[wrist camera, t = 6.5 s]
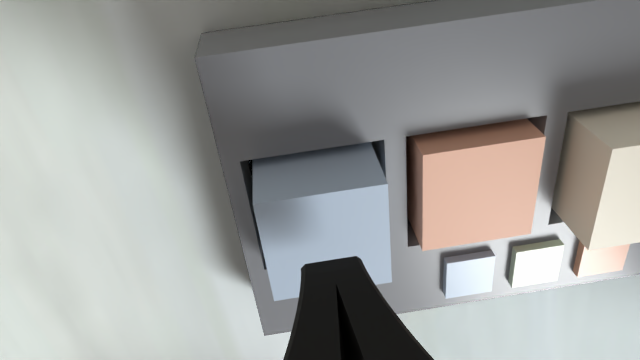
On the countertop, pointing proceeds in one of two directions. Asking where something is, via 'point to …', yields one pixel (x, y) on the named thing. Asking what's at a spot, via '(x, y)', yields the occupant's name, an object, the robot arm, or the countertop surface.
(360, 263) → the robot arm
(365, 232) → the key slate
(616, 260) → the keypad
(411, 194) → the key terracotta
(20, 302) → the countertop surface
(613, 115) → the key cream
